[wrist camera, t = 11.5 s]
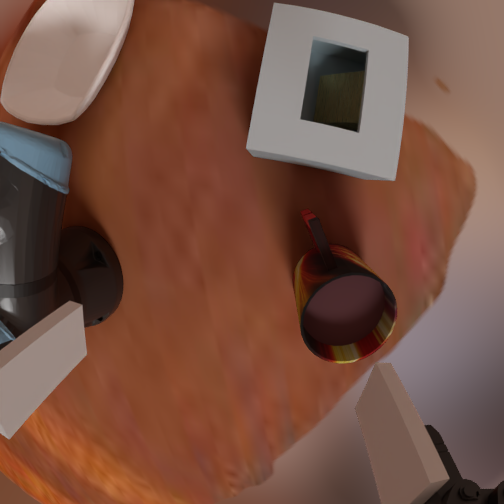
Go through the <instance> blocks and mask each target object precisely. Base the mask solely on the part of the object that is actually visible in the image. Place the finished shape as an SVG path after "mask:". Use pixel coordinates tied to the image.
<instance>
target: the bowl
mask: <svg viewBox="0 0 504 504" xmlns="http://www.w3.org/2000/svg"><path fill="white" fill-rule="evenodd" d="M134 1H135V0H47V1H46V2H45V3H44V4H43V5H42V6H41V8H40V9H39V10H38V11H37V12H36V14H35V15H34V17H33V18H32V20H31V21H30V23H29V24H28V26H27V27H26V29H25V31H24V33H23V35H22V36H21V38H20V40H19V42H18V44H17V46H16V48H15V50H14V53H13V55H12V58H11V60H10V63H9V66H8V68H7V71H6V75H5V78H4V82H3V86H2V92H1V99H0V102H1V104H2V105H3V106H4V108H5V109H6V111H7V112H8V113H10V114H11V115H13V116H15V117H16V118H18V119H20V120H23V121H25V122H27V123H33V124H40V125H60V124H64V123H68V122H72V121H74V120H76V119H77V118H78V117H79V116H80V115H81V114H82V113H83V112H84V111H85V110H86V109H87V108H88V107H89V105H90V104H91V103H92V101H93V100H94V99H95V97H96V96H97V94H98V92H99V91H100V89H101V87H102V86H103V84H104V82H105V81H106V79H107V77H108V75H109V73H110V71H111V69H112V67H113V66H114V64H115V62H116V60H117V57H118V55H119V52H120V50H121V48H122V46H123V43H124V40H125V38H126V35H127V32H128V29H129V26H130V21H131V17H132V12H133V6H134Z"/></svg>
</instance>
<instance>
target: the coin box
mask: <svg viewBox="0 0 504 504" xmlns="http://www.w3.org/2000/svg"><path fill="white" fill-rule="evenodd" d="M408 38H409V37H408V36H405V35H402V34H400V33H397V32H394V31H392V30H389V29H386V28H383V27H380V26H377V25H374V24H371V23H367V22H364V21H361V20H357V19H354V18H350V17H346V16H342V15H338V14H334V13H330V12H325V11H321V10H316V9H311V8H305V7H300V6H294V5H287V4H280V3H274V5H273V10H272V15H271V20H270V25H269V29H268V34H267V39H266V44H265V49H264V54H263V60H262V65H261V70H260V75H259V80H258V86H257V91H256V96H255V102H254V107H253V112H252V118H251V123H250V129H249V134H248V140H247V146H246V149H247V150H248V151H249V152H250V153H251V154H252V156H253V157H259V158H265V159H271V160H277V161H282V162H288V163H293V164H298V165H303V166H308V167H313V168H317V169H322V170H327V171H331V172H336V173H340V174H344V175H348V176H353V177H357V178H361V179H367V180H391V181H395V177H396V171H397V165H398V159H399V152H400V145H401V137H402V130H403V121H404V111H405V101H406V88H407V72H408V43H409V42H408V41H409V39H408ZM358 71H365V74H364V84H363V92H362V101H361V108H360V116H359V123H358V130H346V129H342V128H338V127H333V126H329V125H325V124H320V123H316V122H313V119H314V113H315V106H316V100H317V94H318V87H319V80H320V76H324V75H331V74H339V73H348V72H358Z"/></svg>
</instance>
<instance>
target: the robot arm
mask: <svg viewBox="0 0 504 504" xmlns="http://www.w3.org/2000/svg"><path fill="white" fill-rule="evenodd" d="M71 164H72V151H71V148H70V147H69V145H68V144H67V143H66V142H65V141H63V140H60V139H58V138H55V137H52V136H49V135H45V134H42V133H39V132H35V131H32V130H29V129H26V128H22V127H19V126H15V125H12V124H8V123H4V122H0V433H1V434H2V435H4V436H5V437H6V438H8V439H10V438H11V437H12V436H13V435H14V433H15V432H16V431H17V430H18V429H19V428H20V427H21V425H22V424H23V423H24V422H25V421H26V420H27V419H28V417H29V416H30V415H31V414H32V413H33V412H34V411H35V410H36V408H37V407H38V406H39V405H40V404H41V403H42V402H43V401H44V400H45V399H46V397H47V396H48V395H49V394H50V393H51V392H52V391H53V390H54V389H55V388H56V387H57V385H58V384H59V383H60V382H61V381H62V380H63V379H64V378H65V377H66V376H67V375H68V374H69V373H70V372H71V371H72V369H73V368H74V367H75V366H76V365H77V364H78V363H79V362H80V361H81V360H82V359H83V358H84V357H85V356H86V355H87V350H86V341H85V332H84V328H85V327H89V326H94V325H97V324H99V323H101V322H103V321H105V320H106V319H107V318H108V317H109V316H110V315H111V314H113V313H114V311H115V310H116V309H117V307H118V306H119V304H120V301H121V298H122V294H123V276H122V271H121V267H120V264H119V262H118V259H117V257H116V255H115V253H114V251H113V250H112V248H111V247H110V245H109V244H108V243H107V242H106V241H105V240H104V239H103V238H102V237H101V236H100V235H99V234H97V233H96V232H94V231H93V230H91V229H88V228H86V227H81V226H72V227H68V228H65V229H62V230H61V228H62V220H63V213H64V207H65V201H66V195H67V194H68V193H69V187H68V183H69V177H70V170H71ZM355 410H356V413H357V417H358V420H359V424H360V427H361V430H362V434H363V437H364V440H365V444H366V448H367V451H368V455H369V459H370V462H371V466H372V470H373V473H374V477H375V481H376V485H377V488H378V493H379V497H380V501H381V504H504V481H502V482H501V483H500V484H499V485H498V486H497V487H496V488H495V489H480V487H479V486H478V485H477V484H476V483H475V482H473V481H471V480H467V479H462V477H461V475H460V473H459V471H458V469H457V467H456V465H455V463H454V461H453V459H452V457H451V455H450V453H449V452H448V449H447V447H446V445H445V444H444V441H443V439H442V437H441V435H440V434H439V432H437V430H435V429H434V428H433V427H432V426H431V425H424V424H423V422H422V420H421V418H420V416H419V414H418V412H417V411H416V409H415V407H414V405H413V403H412V401H411V399H410V397H409V396H408V394H407V392H406V390H405V388H404V386H403V384H402V383H401V381H400V379H399V377H398V375H397V373H396V372H395V370H394V368H393V366H392V364H391V363H379V362H376V363H375V365H374V368H373V370H372V372H371V375H370V377H369V379H368V382H367V384H366V386H365V388H364V390H363V392H362V395H361V397H360V399H359V401H358V403H357V405H356V407H355Z"/></svg>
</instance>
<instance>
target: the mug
mask: <svg viewBox="0 0 504 504" xmlns="http://www.w3.org/2000/svg"><path fill="white" fill-rule="evenodd" d="M300 212H301V215H302V217H303V220H304V222H305V225H306V227H307V229H308V232H309V234H310V236H311V239H312V241H313V244H314V246H315V248H313V249H311V250H310V251H308V252H307V253H306V254H305V255H304V256H303V257H302V258H301V259H300V261H299V262H298V264H297V266H296V268H295V271H294V274H293V288H294V294H295V300H296V306H297V311H298V317H299V323H300V329H301V335H302V338H303V340H304V343H305V344H306V346H307V347H308V349H309V350H310V351H311V352H312V353H313V354H314V355H316V356H318V357H319V358H321V359H323V360H326V361H329V362H333V363H351V362H356V361H359V360H361V359H364V358H366V357H368V356H370V355H371V354H373V353H374V352H376V351H377V350H378V349H379V348H381V347H382V345H383V344H384V343H385V342H386V341H387V340H388V338H389V337H390V335H391V333H392V331H393V329H394V326H395V323H396V319H397V304H396V299H395V297H394V295H393V292H392V291H391V289H390V288H389V287H388V285H387V284H386V283H385V282H384V281H383V280H382V279H381V278H380V277H379V276H378V275H377V274H376V273H375V272H374V271H373V270H372V269H371V268H370V267H369V266H368V265H367V264H366V263H365V262H364V261H362V260H361V259H360V258H359V257H358V256H357V255H356V254H355V253H354V252H353V251H351V250H350V249H349V248H347V247H345V246H342V245H338V244H328V241H327V239H326V236H325V234H324V232H323V229H322V226H321V223H320V220H319V219H318V218H317V217H316V216H315V215H314V214H313V213H312V212H311V211H310V210H309V209H305V210H303V211H300Z"/></svg>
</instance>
